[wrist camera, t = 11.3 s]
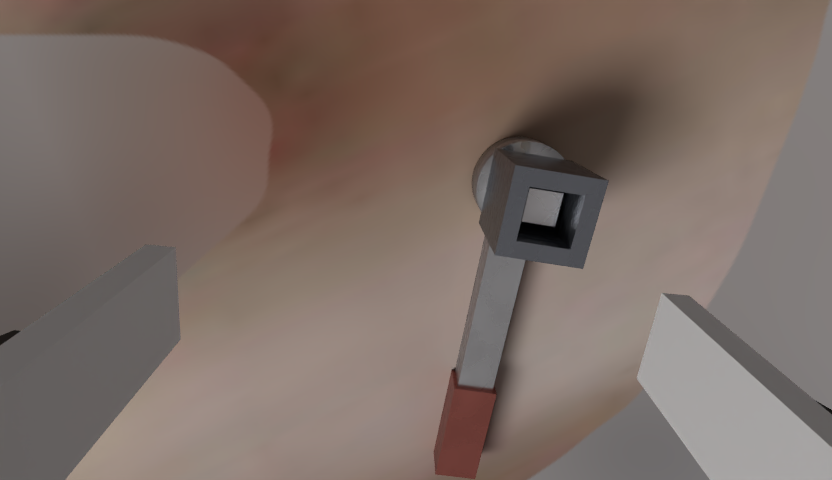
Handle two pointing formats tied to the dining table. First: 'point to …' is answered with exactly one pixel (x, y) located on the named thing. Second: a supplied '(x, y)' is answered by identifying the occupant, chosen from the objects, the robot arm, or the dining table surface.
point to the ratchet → (486, 326)
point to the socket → (536, 240)
